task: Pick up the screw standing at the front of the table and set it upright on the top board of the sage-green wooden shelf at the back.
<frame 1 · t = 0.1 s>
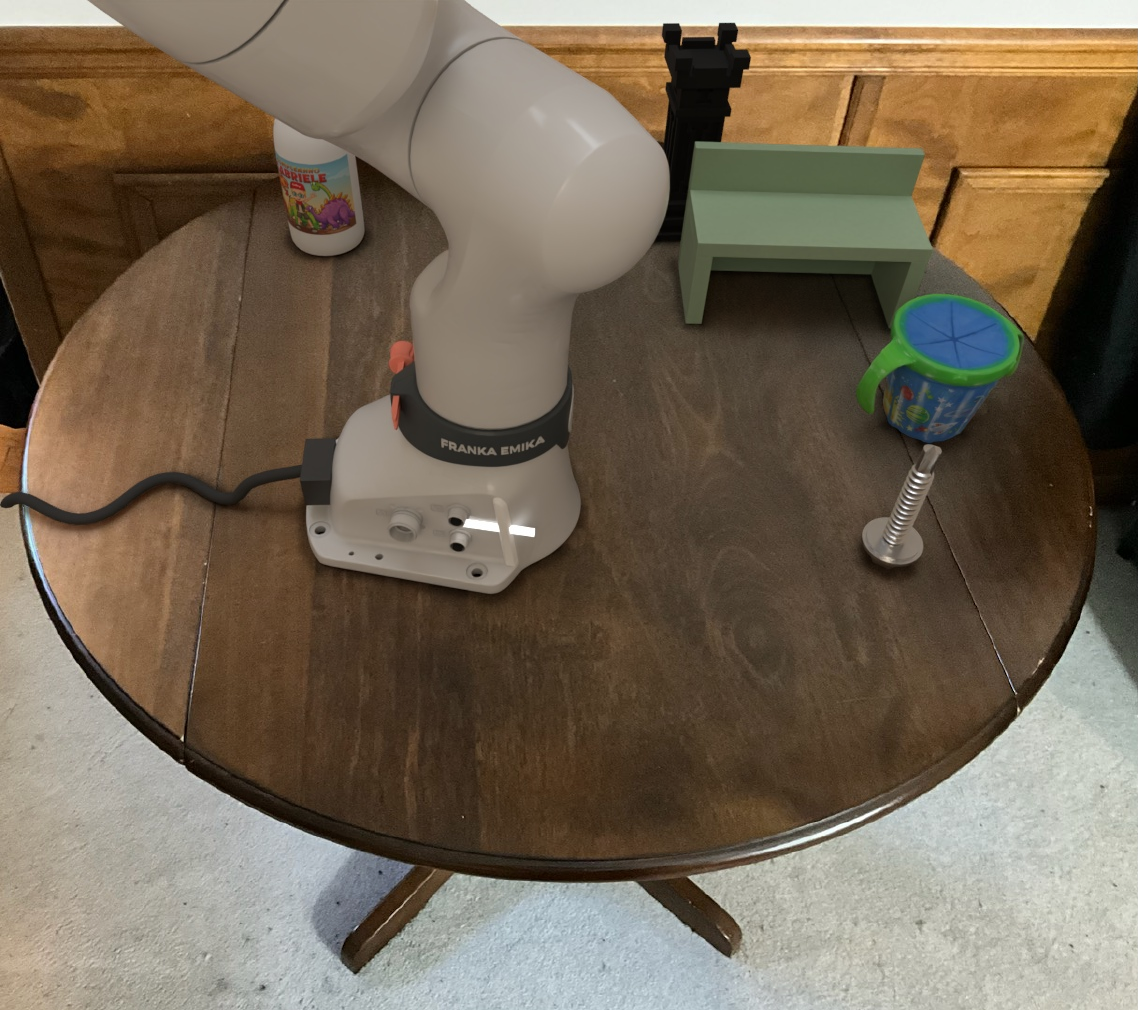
milk bottle: (329, 238, 111), on the table
snack cup: (921, 418, 96), on the table
shelf: (787, 295, 107), on the table
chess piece: (680, 220, 115), on the table
screw: (885, 558, 85), on the table
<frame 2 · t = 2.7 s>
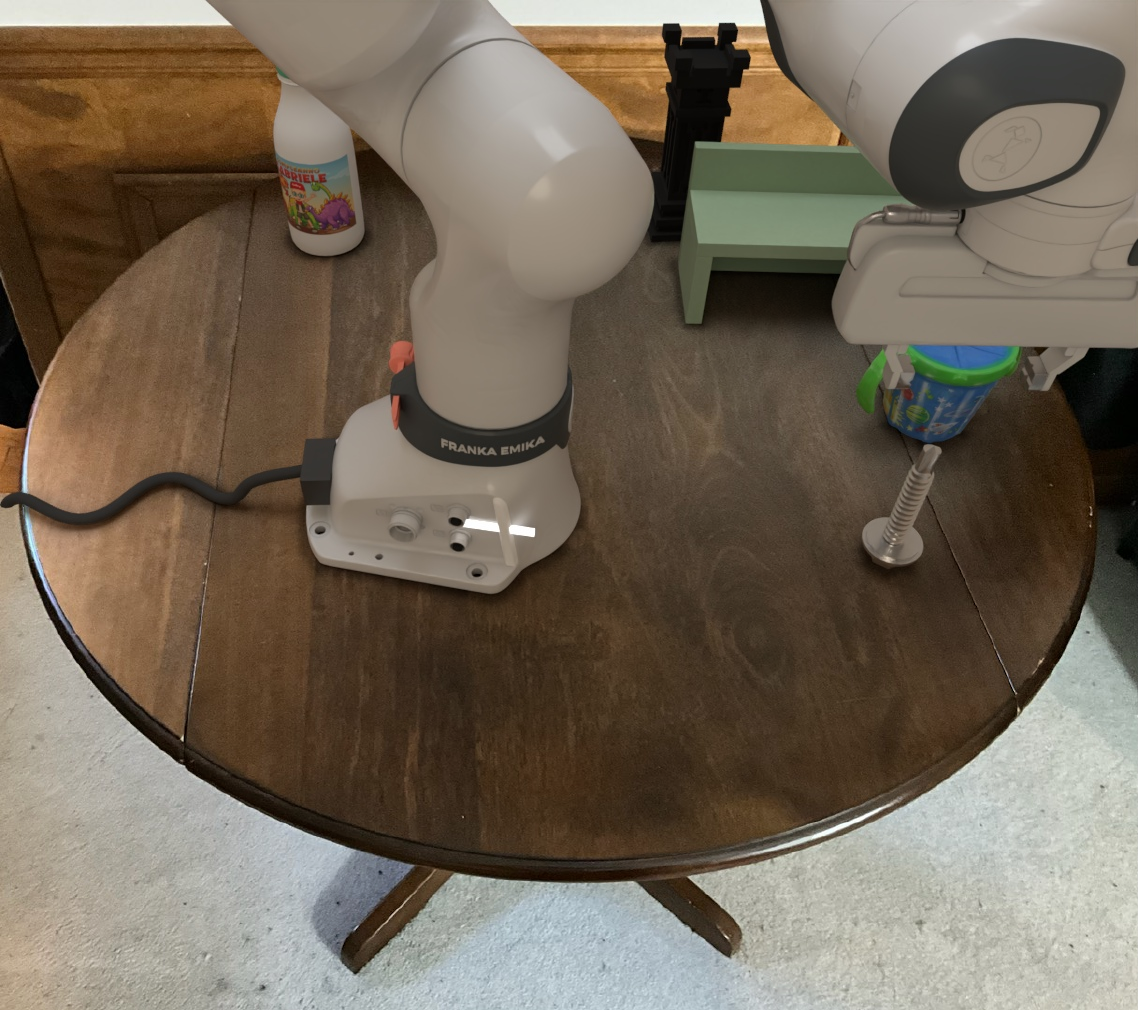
hand: (963, 384, 71), 19 cm above the table, tool pointing down, fingers open, 8 cm apart
nothing on the table moved.
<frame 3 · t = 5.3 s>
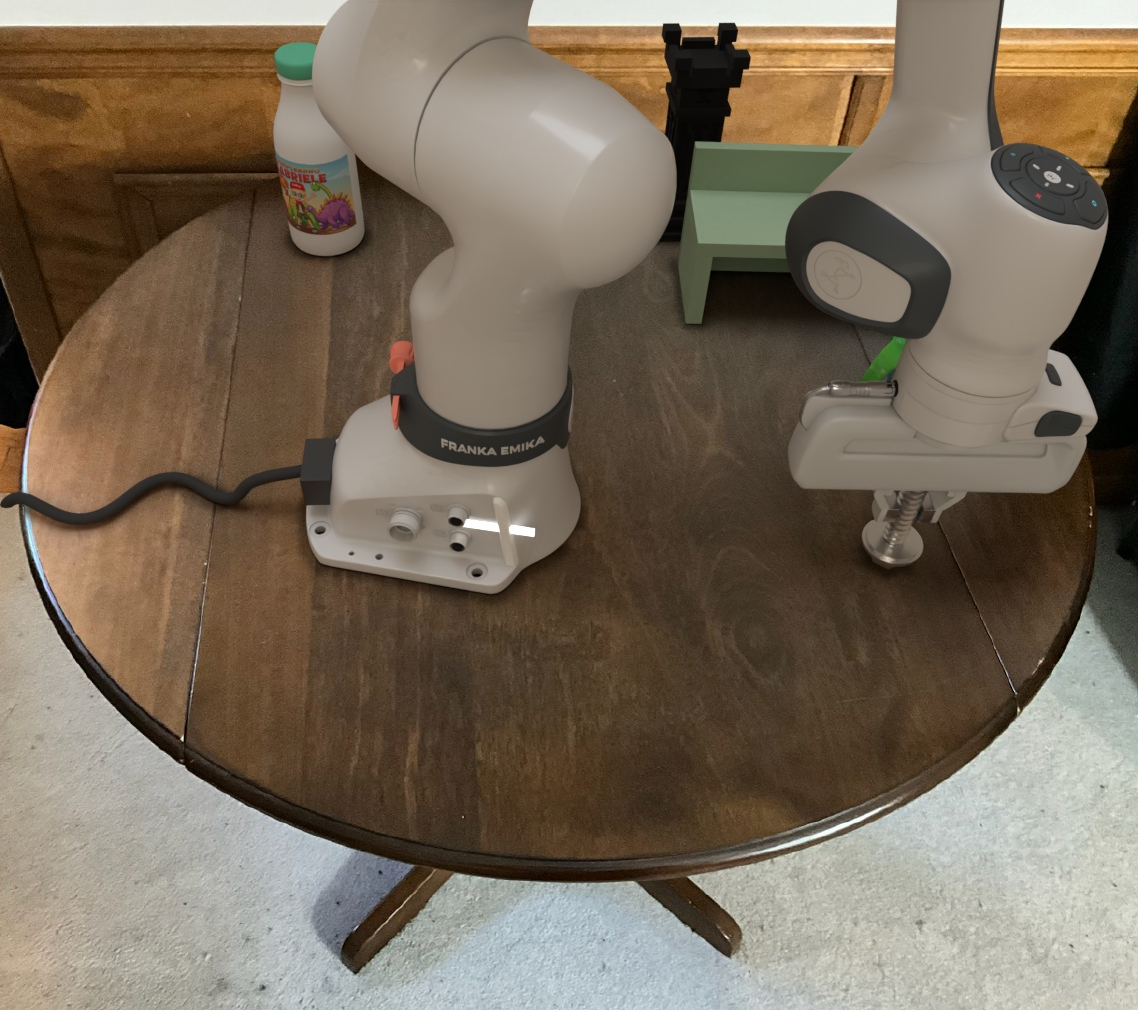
hand: (903, 516, 81), 5 cm above the table, tool pointing down, fingers closed on screw, 2 cm apart
screw: (885, 558, 85), on the table, touching gripper
everything else where it was.
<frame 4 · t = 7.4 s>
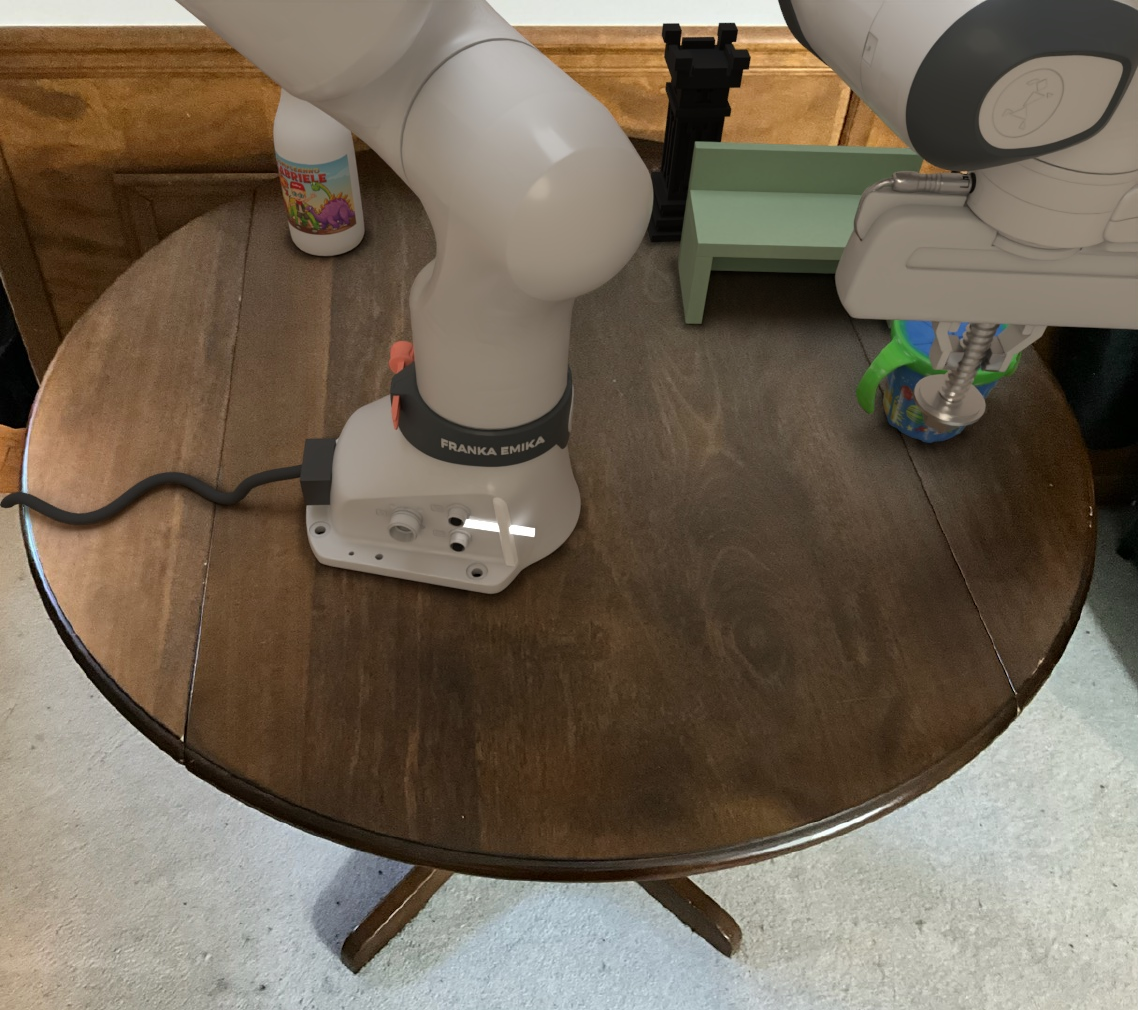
hand: (965, 365, 69), 21 cm above the table, tool pointing down, fingers closed on screw
screw: (939, 422, 73), point 15 cm above the table, touching gripper
everything else where it was.
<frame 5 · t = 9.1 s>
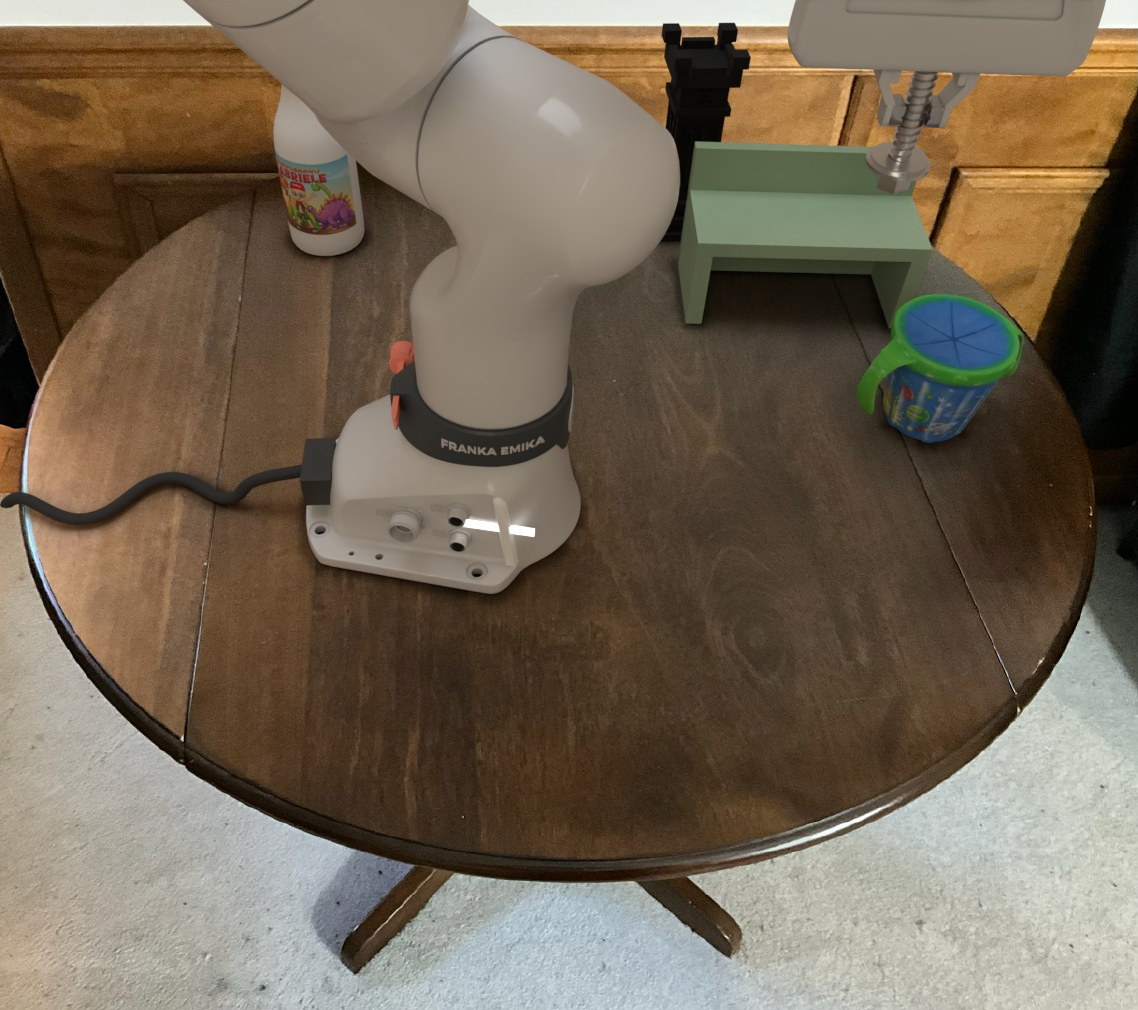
hand: (910, 123, 76), 27 cm above the table, tool pointing down, fingers closed on screw
screw: (890, 186, 81), point 22 cm above the table, touching gripper
everything else where it was.
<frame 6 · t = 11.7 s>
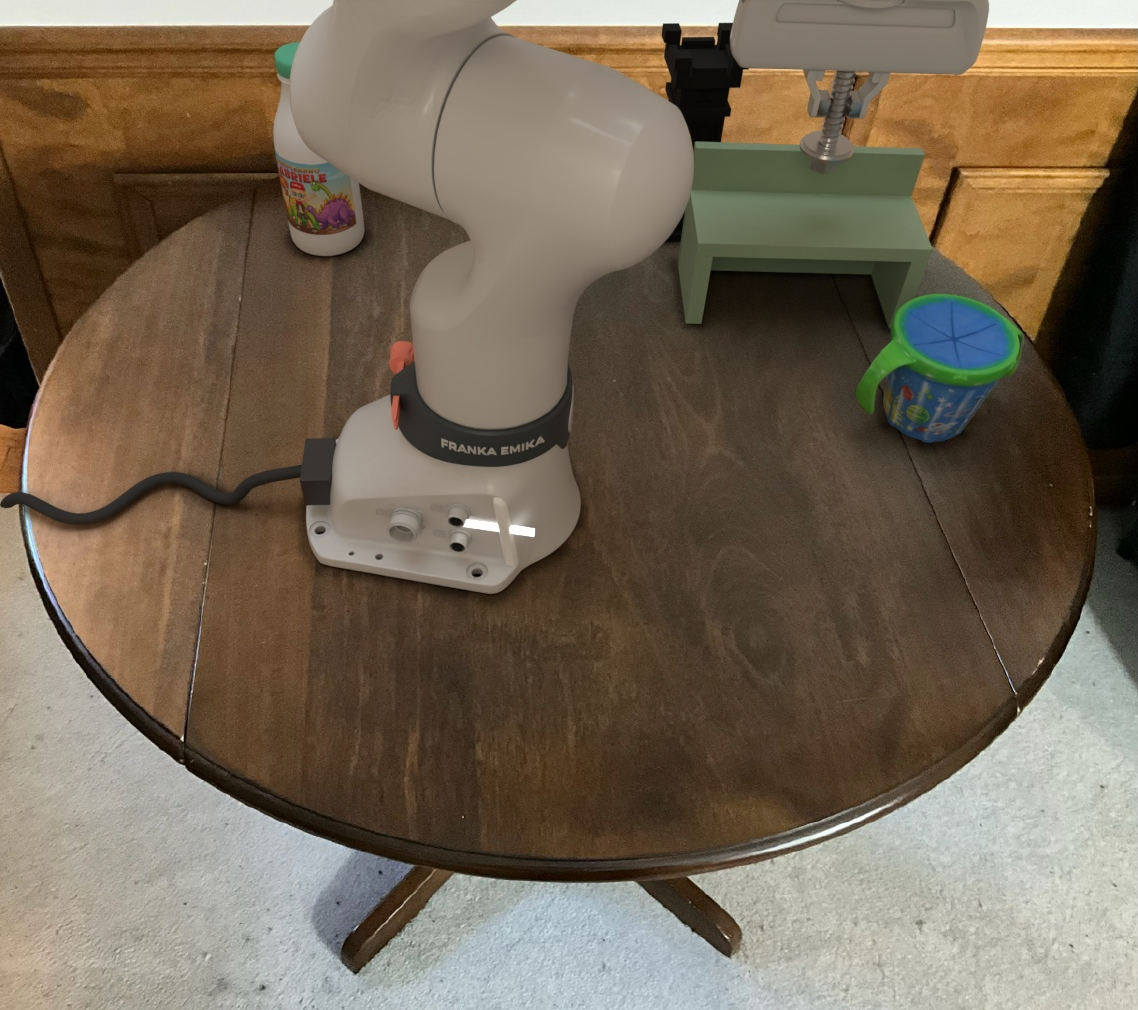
hand: (835, 114, 91), 20 cm above the table, tool pointing down, fingers closed on screw
screw: (821, 168, 95), point 15 cm above the table, touching gripper
everything else where it was.
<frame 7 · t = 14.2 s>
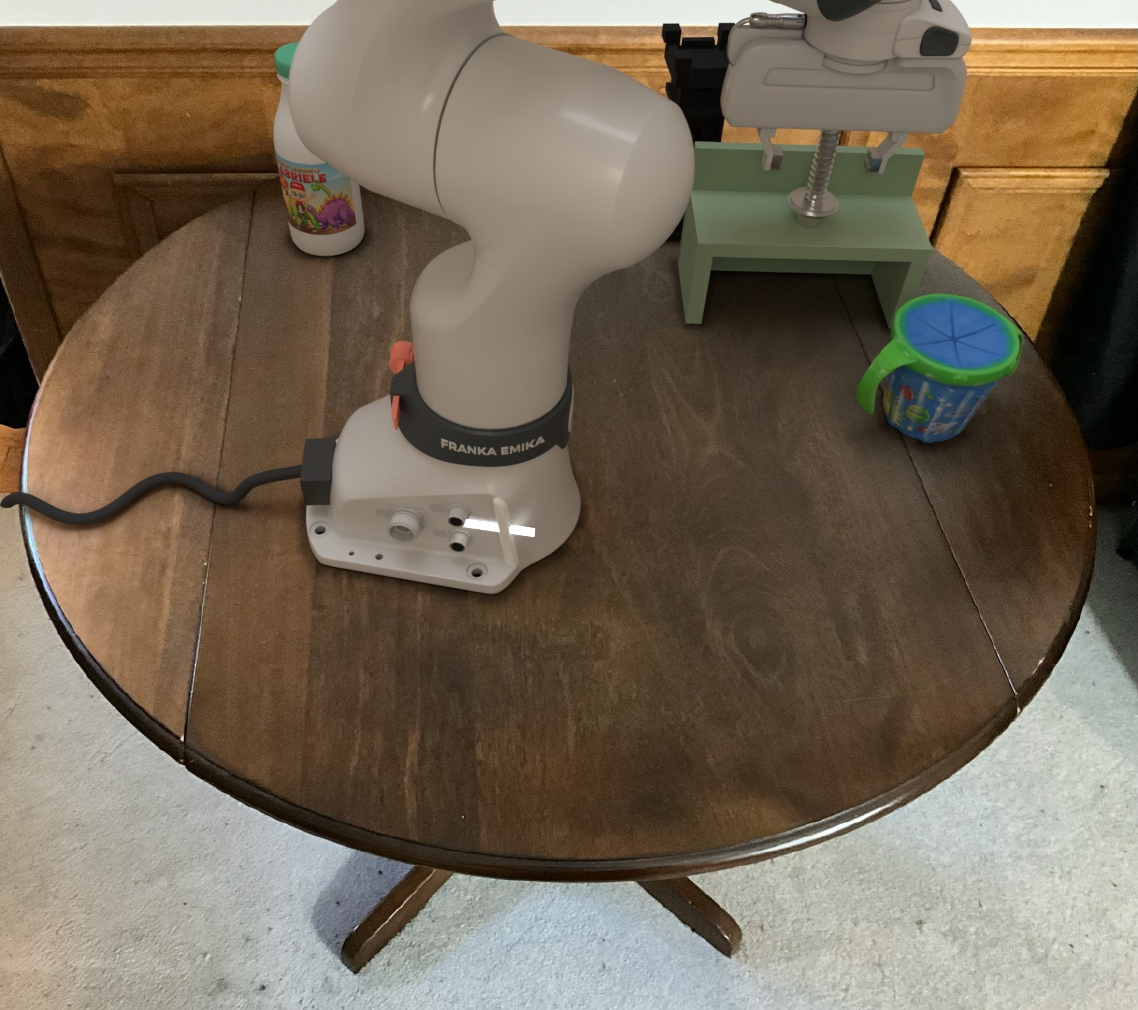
hand: (821, 169, 95), 15 cm above the table, tool pointing down, fingers open, 8 cm apart
screw: (808, 222, 99), point 9 cm above the table, touching shelf
everything else where it was.
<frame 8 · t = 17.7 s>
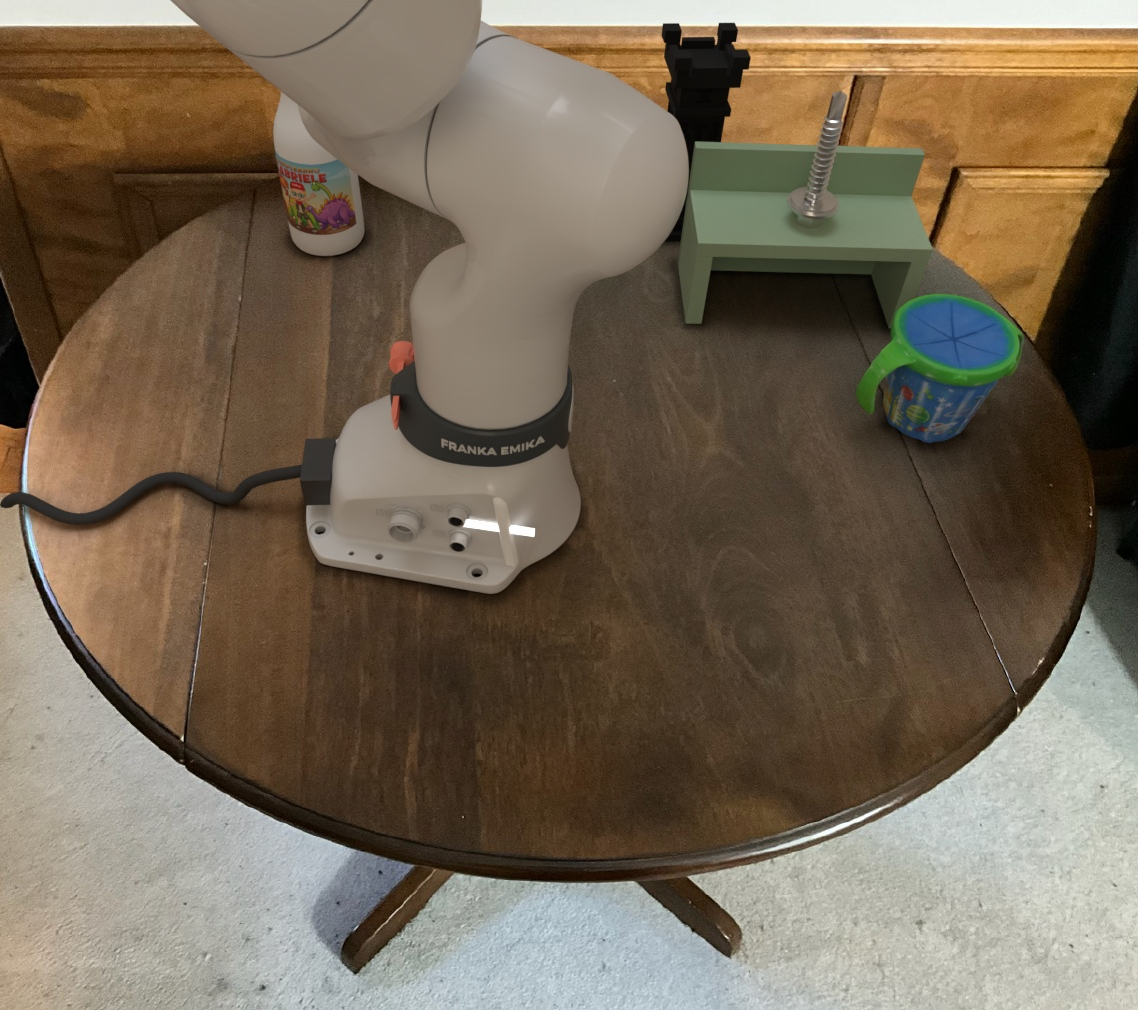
nothing on the table moved.
at the end: screw inside the target area on the shelf (0.5 cm from its centre), point 9.3 cm above the shelf's base; screw tilted 0° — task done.
